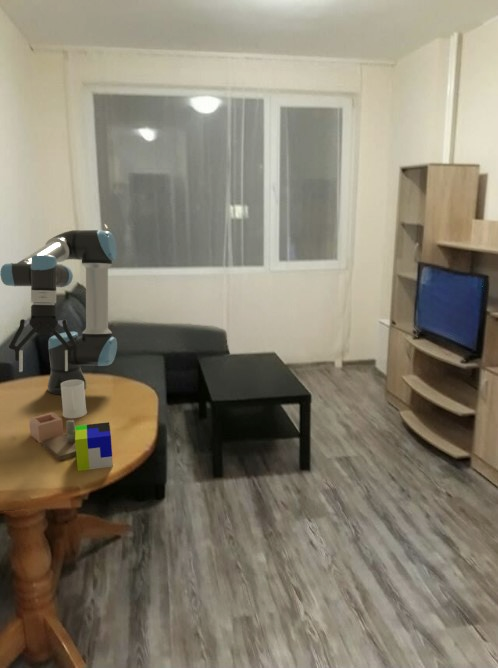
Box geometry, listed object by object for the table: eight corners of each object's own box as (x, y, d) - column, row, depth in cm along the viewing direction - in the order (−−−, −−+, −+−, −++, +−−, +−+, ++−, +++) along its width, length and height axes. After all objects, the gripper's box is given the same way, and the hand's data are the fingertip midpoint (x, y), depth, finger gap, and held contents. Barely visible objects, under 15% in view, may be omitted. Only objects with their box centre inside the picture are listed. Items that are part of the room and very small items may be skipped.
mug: (84, 421, 194) (82, 389, 191) (59, 423, 193) (56, 391, 190) (88, 408, 206) (85, 378, 203) (64, 410, 204) (61, 379, 201)
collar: (54, 428, 189) (52, 412, 187) (63, 435, 183) (62, 419, 181) (30, 434, 183) (28, 418, 182) (39, 442, 178) (38, 425, 176)
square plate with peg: (83, 432, 185) (81, 409, 183) (102, 446, 175) (100, 422, 173) (42, 445, 176) (39, 420, 174) (60, 460, 166) (57, 434, 164)
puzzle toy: (112, 466, 163) (110, 435, 160) (77, 471, 160) (75, 439, 158) (111, 451, 172) (109, 422, 170) (77, 455, 169) (75, 425, 167)
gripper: (-1, 303, 166) (-1, 373, 167) (84, 305, 173) (84, 371, 175) (2, 303, 173) (3, 370, 174) (84, 304, 181) (84, 368, 182)
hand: (43, 371), depth 174 cm, fingers open, 13 cm apart
